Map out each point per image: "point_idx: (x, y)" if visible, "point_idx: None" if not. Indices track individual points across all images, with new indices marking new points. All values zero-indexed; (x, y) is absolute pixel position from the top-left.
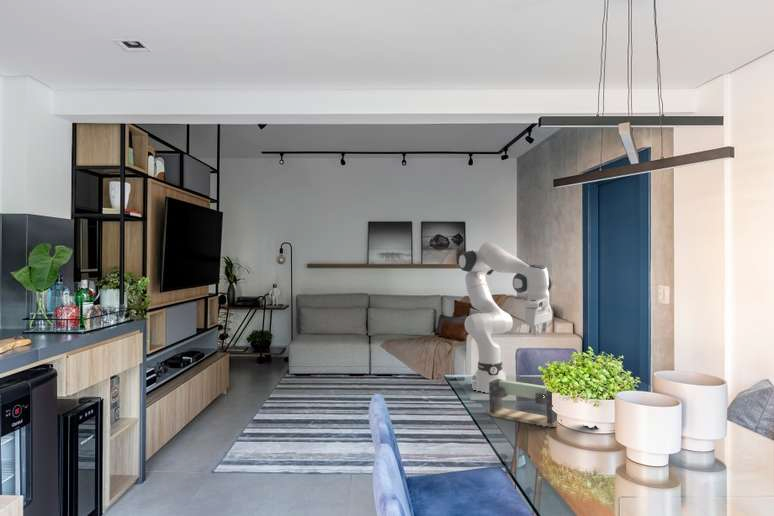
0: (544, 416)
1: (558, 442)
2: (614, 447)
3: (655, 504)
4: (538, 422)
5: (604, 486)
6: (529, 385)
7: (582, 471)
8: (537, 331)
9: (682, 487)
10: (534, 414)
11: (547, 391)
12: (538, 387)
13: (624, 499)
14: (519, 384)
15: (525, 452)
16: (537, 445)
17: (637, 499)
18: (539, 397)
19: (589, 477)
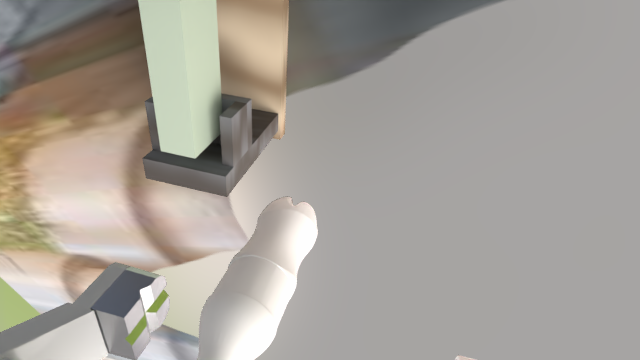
0: (273, 76)
1: (124, 147)
2: (184, 257)
3: (25, 290)
4: None
5: (14, 238)
6: (153, 72)
7: (31, 207)
8: (125, 352)
9: None
10: (276, 31)
11: (144, 163)
12: (157, 120)
13: (3, 260)
14: (140, 10)
15: (10, 85)
16: (68, 102)
17: (18, 274)
18: None
19: (21, 218)
